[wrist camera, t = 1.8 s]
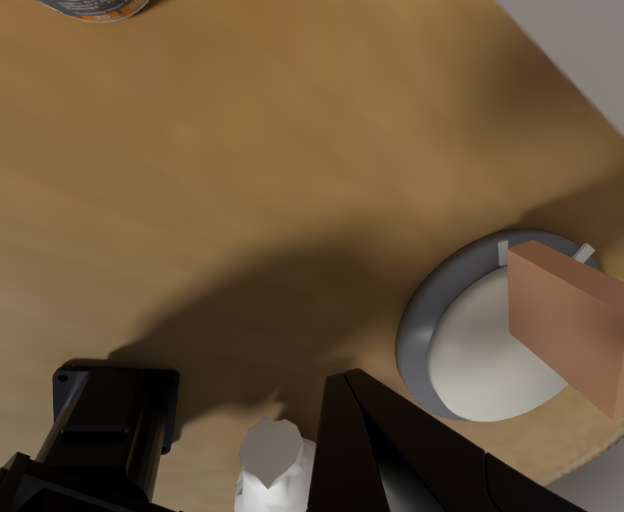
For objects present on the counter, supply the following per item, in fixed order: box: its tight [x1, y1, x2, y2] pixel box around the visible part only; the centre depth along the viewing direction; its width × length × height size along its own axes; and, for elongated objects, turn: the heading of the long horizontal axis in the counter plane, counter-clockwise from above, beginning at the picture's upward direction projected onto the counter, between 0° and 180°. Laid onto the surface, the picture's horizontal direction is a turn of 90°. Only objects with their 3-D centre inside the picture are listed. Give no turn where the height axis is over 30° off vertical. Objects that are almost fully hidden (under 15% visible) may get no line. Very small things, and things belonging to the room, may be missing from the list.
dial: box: [426, 240, 624, 422], centre depth 21 cm, size 14×12×8 cm
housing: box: [395, 228, 599, 421], centre depth 25 cm, size 15×15×1 cm
